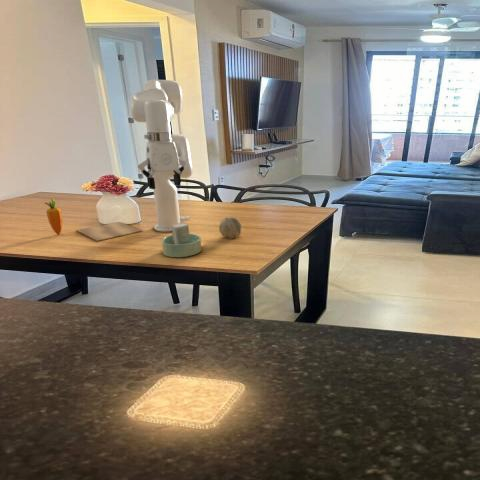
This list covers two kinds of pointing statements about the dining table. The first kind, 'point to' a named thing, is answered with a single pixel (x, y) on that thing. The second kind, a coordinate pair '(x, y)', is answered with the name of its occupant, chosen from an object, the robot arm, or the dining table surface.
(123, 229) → the mat
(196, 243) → the bowl
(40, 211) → the dining table surface
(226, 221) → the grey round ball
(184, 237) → the grey rectangular block
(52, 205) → the carrot
